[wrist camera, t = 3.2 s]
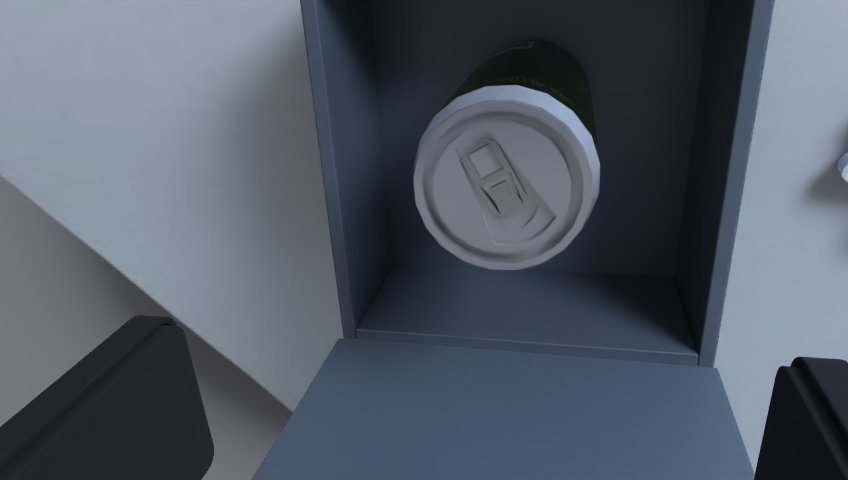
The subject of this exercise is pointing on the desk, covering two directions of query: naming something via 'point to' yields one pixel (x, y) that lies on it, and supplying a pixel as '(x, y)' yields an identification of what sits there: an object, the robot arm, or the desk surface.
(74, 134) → the desk surface
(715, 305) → the open hinged box
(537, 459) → the lid
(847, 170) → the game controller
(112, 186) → the desk surface
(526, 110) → the beer can
